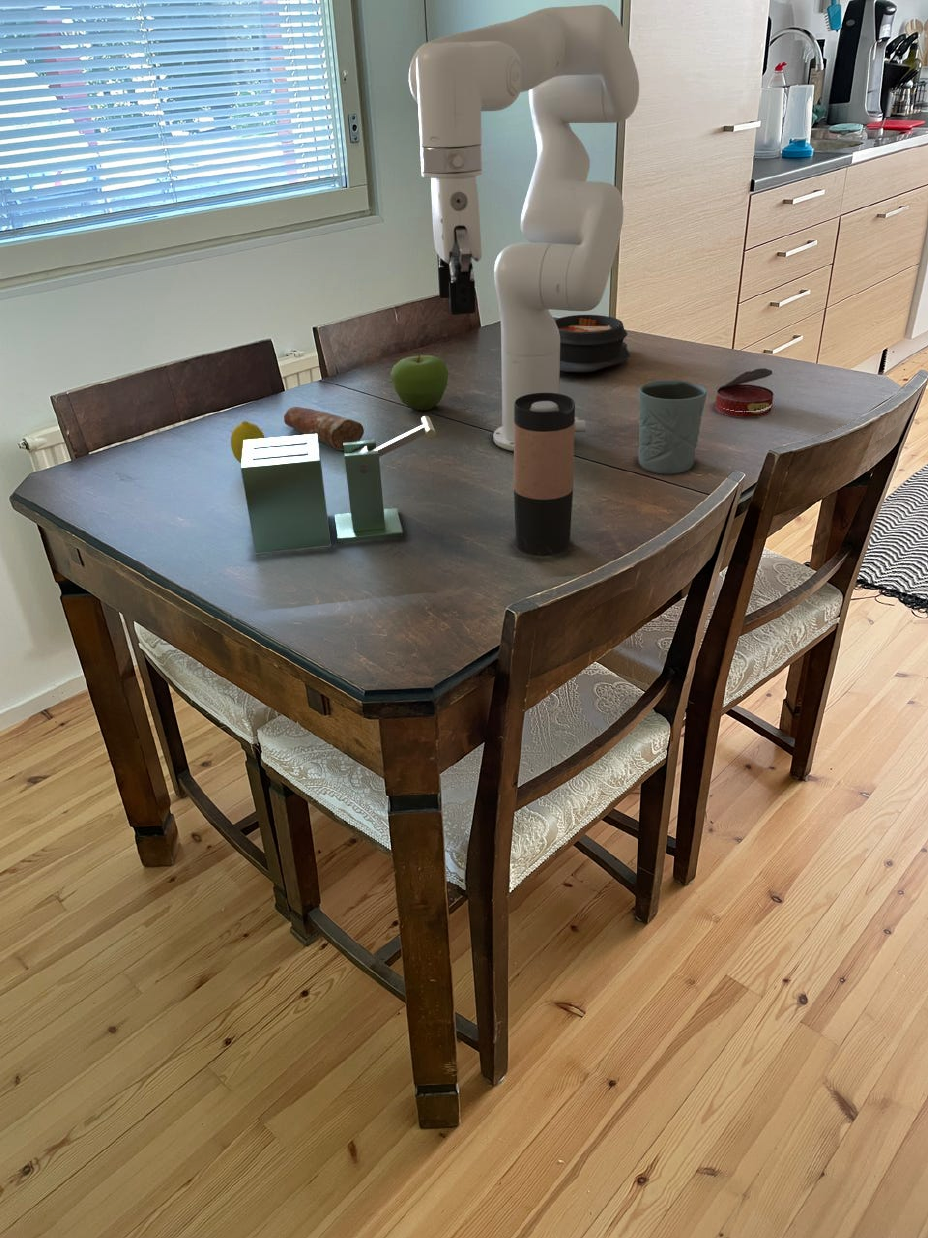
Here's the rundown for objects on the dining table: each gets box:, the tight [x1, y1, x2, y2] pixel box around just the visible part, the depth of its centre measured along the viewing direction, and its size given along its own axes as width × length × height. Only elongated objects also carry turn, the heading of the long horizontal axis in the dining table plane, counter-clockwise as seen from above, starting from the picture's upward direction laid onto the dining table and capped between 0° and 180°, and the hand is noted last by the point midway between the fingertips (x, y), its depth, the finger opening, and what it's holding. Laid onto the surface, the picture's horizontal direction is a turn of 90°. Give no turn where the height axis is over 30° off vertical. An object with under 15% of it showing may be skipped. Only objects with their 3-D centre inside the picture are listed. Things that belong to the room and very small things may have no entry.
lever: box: [352, 415, 437, 458], centre depth 124 cm, size 12×6×2 cm, turn 99°
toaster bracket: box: [333, 439, 404, 544], centre depth 127 cm, size 9×8×12 cm
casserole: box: [554, 314, 631, 374], centre depth 193 cm, size 25×19×8 cm
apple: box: [390, 354, 450, 412], centre depth 172 cm, size 11×10×10 cm
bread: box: [283, 406, 365, 451], centre depth 161 cm, size 6×19×6 cm, turn 39°
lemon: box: [230, 420, 265, 464], centre depth 149 cm, size 6×6×8 cm
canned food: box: [714, 367, 774, 419], centre depth 166 cm, size 11×10×10 cm
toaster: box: [240, 434, 332, 556], centre depth 125 cm, size 10×10×13 cm
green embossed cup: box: [638, 379, 708, 475], centre depth 144 cm, size 10×10×12 cm
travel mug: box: [513, 393, 576, 557], centre depth 118 cm, size 8×8×20 cm
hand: (456, 304), depth 123 cm, fingers open, 9 cm apart
